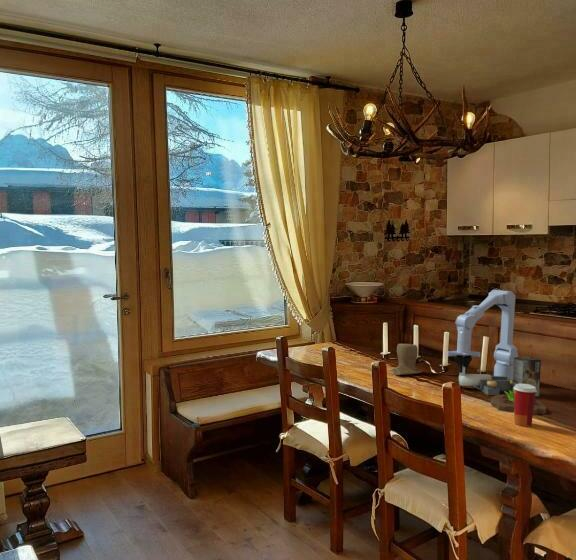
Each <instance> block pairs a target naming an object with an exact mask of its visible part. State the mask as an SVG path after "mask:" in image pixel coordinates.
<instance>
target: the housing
mask: <svg viewBox="0 0 576 560" xmlns="http://www.w3.org/2000/svg"><path fill="white" fill-rule="evenodd" d="M491 378H492V380H482V379H480V386H473V387H474V388H475V387H476V388H475V389H477V391H479V390H480V391H479V392H482V393H483V392H484V393H483V394H485V395H486V394H487V395H486V396H488V395H491V397H493V396H492V395H495V396H496V395H500V393H505V392H508V393H510V392H509V390H510V391H512V390H513V384H510V381H511V380H513V378H511V377H509V376H494V375H491ZM487 381H496V382H497V386H496V387H494V388H489V386H488V385H487ZM500 391H501V392H500ZM504 391H505V392H504Z"/></svg>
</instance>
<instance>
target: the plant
mask: <svg viewBox="0 0 576 560" xmlns="http://www.w3.org/2000/svg"><path fill="white" fill-rule="evenodd" d="M514 382H516V383H517V384H519V383H518V382H517V381H516V380H511V381H510V384H513V383H514ZM503 393H505V394H499V395H496V396H491V398H490V406H491V407H492V408H495V409H496V410H498V411H501V412H505V411H506V412H507V413H513V412H514V390H513V392H512V391H510V390H509V392H505V391H504V392H503ZM506 412H505V413H506ZM546 413H547V407H546V406H545V405H544V404H543V403H542V402H541V401H539V400H537V399H535V402H534V409H533V416H536V415H538V414H539V415H545V414H546Z"/></svg>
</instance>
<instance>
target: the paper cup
mask: <svg viewBox="0 0 576 560" xmlns="http://www.w3.org/2000/svg"><path fill="white" fill-rule="evenodd" d="M536 392H537V390H536V387H534V386H532V385H529V384H516V385H515V386H514V414H513V415H514V417H513V419H514V420H513V421H514V424H515V425H516V426H518V425H519V427H523V426H524V427H526V428H527V427H529V426H530V427H532V423H533V416H534V415H533V409H534V402H535V400H536V396H535V394H536Z"/></svg>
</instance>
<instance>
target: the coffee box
mask: <svg viewBox="0 0 576 560" xmlns="http://www.w3.org/2000/svg"><path fill="white" fill-rule="evenodd" d="M541 363H542V359H541V358H540V359H539V358H536V357H533V356H523V357H522V356H521V357H519V356H518V357H514V368H513V380H516V381H517V382H518V383H519V384H529V385H532V386H534V387H536V390H537V392H536V394H535V397H540V388H541V387H540V386H541V367H542V364H541ZM516 384H517V383H516V382H514V383H513V390H514V386H515V385H516ZM513 390H512V392H513Z"/></svg>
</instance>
